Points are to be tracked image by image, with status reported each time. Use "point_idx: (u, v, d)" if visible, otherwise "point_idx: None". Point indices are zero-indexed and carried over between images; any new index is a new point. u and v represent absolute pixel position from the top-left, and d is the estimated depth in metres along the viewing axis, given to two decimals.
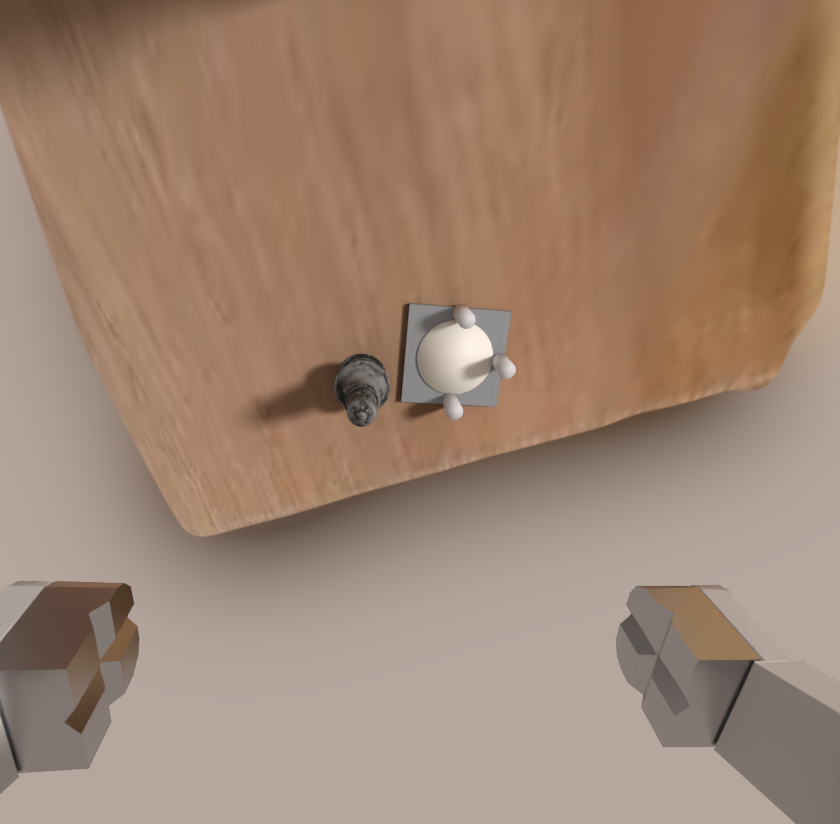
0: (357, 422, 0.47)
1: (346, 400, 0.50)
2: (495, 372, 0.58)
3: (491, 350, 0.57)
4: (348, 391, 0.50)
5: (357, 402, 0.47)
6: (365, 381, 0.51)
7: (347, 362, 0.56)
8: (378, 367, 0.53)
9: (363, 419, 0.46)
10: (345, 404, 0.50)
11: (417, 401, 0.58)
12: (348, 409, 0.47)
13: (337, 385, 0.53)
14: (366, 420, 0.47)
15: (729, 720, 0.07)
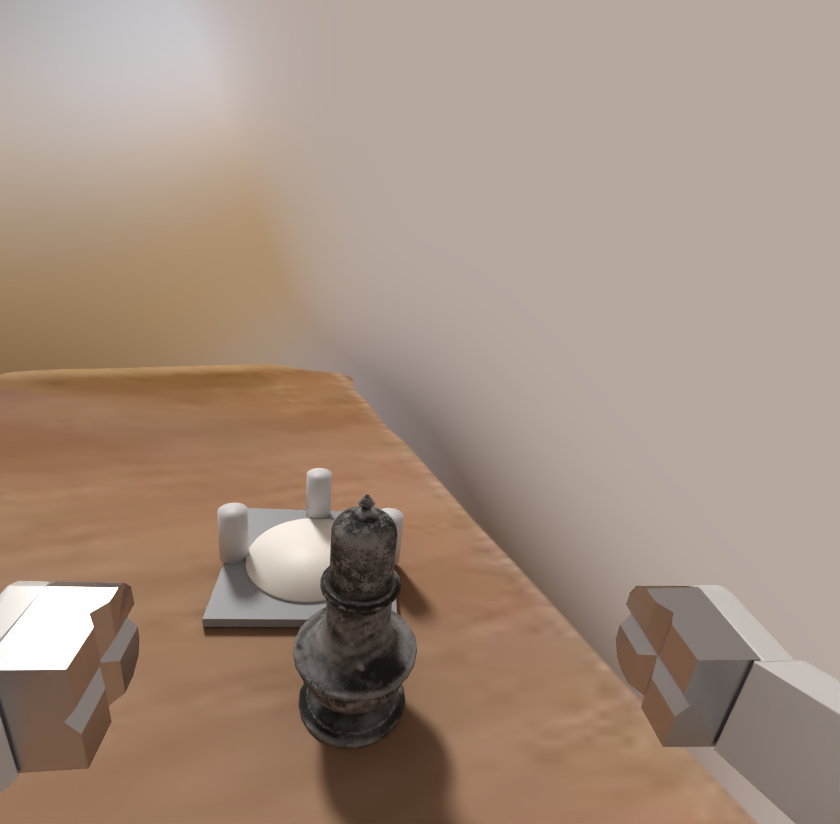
0: (383, 522, 0.22)
1: (359, 603, 0.22)
2: (336, 516, 0.39)
3: (301, 520, 0.38)
4: (337, 602, 0.22)
5: (338, 529, 0.21)
6: (327, 605, 0.24)
7: (316, 725, 0.24)
8: (309, 618, 0.26)
9: None
10: (369, 606, 0.22)
11: None
12: (357, 544, 0.21)
13: (351, 690, 0.22)
14: (376, 509, 0.22)
15: (729, 720, 0.07)
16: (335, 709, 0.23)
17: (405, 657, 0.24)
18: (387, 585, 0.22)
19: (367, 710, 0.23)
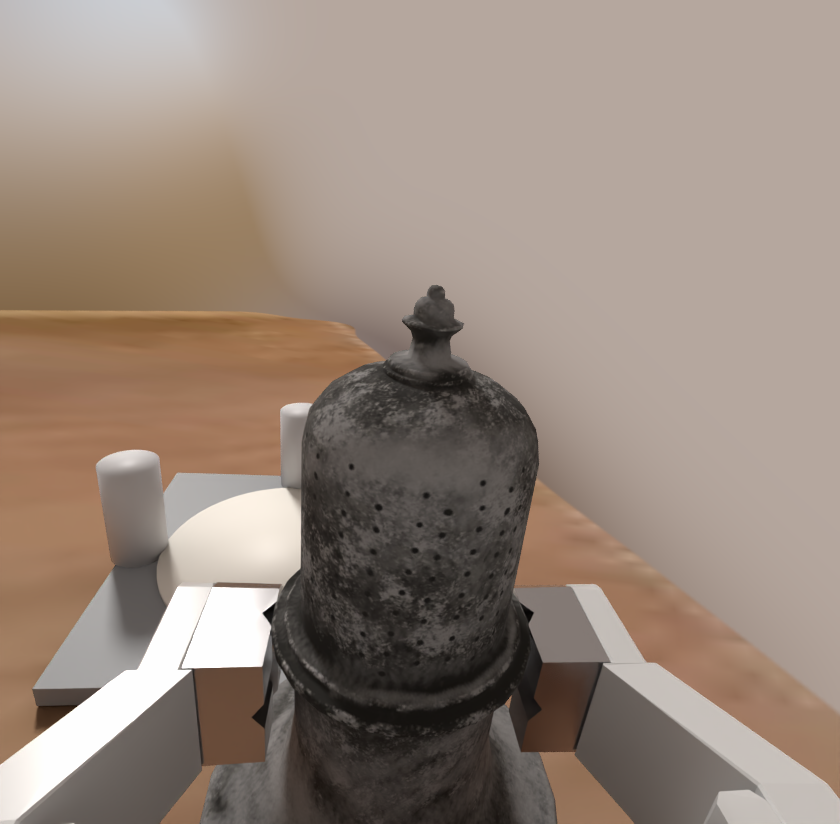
0: (496, 396, 0.06)
1: (408, 699, 0.06)
2: None
3: (271, 491, 0.22)
4: (328, 695, 0.06)
5: (326, 418, 0.06)
6: None
7: None
8: None
9: None
10: (447, 709, 0.06)
11: None
12: (405, 467, 0.05)
13: None
14: None
15: (585, 724, 0.07)
16: None
17: None
18: (500, 627, 0.07)
19: None
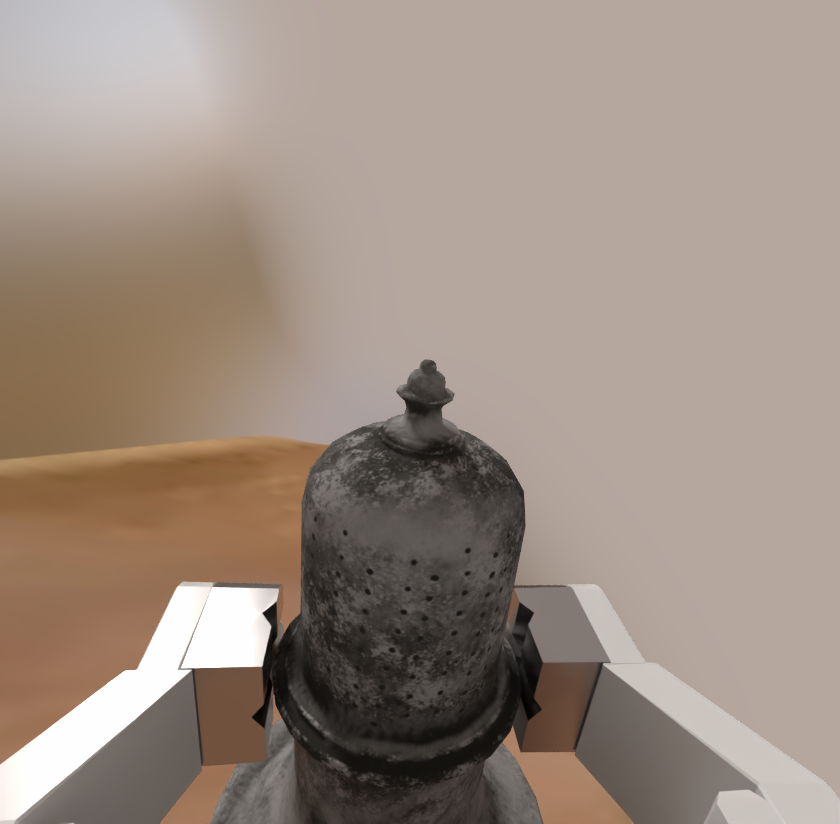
0: (484, 462, 0.06)
1: (398, 750, 0.06)
2: None
3: None
4: (323, 743, 0.06)
5: (324, 483, 0.06)
6: None
7: None
8: None
9: None
10: (435, 760, 0.06)
11: None
12: (394, 535, 0.05)
13: None
14: None
15: (585, 724, 0.07)
16: None
17: None
18: (489, 679, 0.07)
19: None
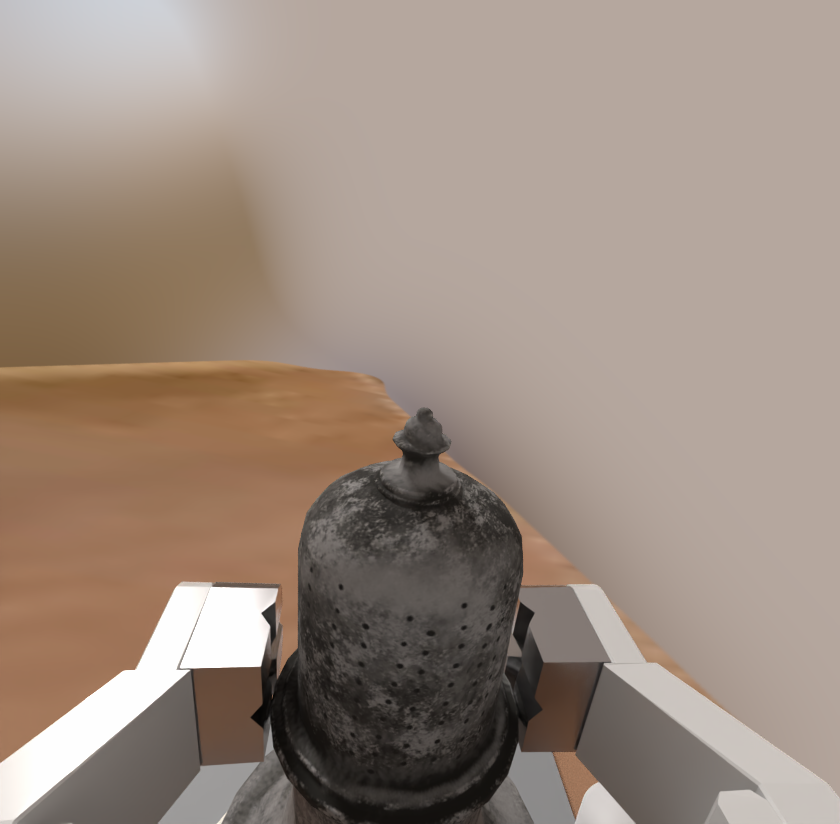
0: (481, 510, 0.06)
1: (395, 798, 0.06)
2: None
3: None
4: (320, 790, 0.06)
5: (320, 532, 0.06)
6: None
7: None
8: (263, 763, 0.10)
9: None
10: (432, 808, 0.06)
11: None
12: (390, 591, 0.05)
13: None
14: None
15: (586, 724, 0.07)
16: None
17: None
18: (487, 723, 0.07)
19: None
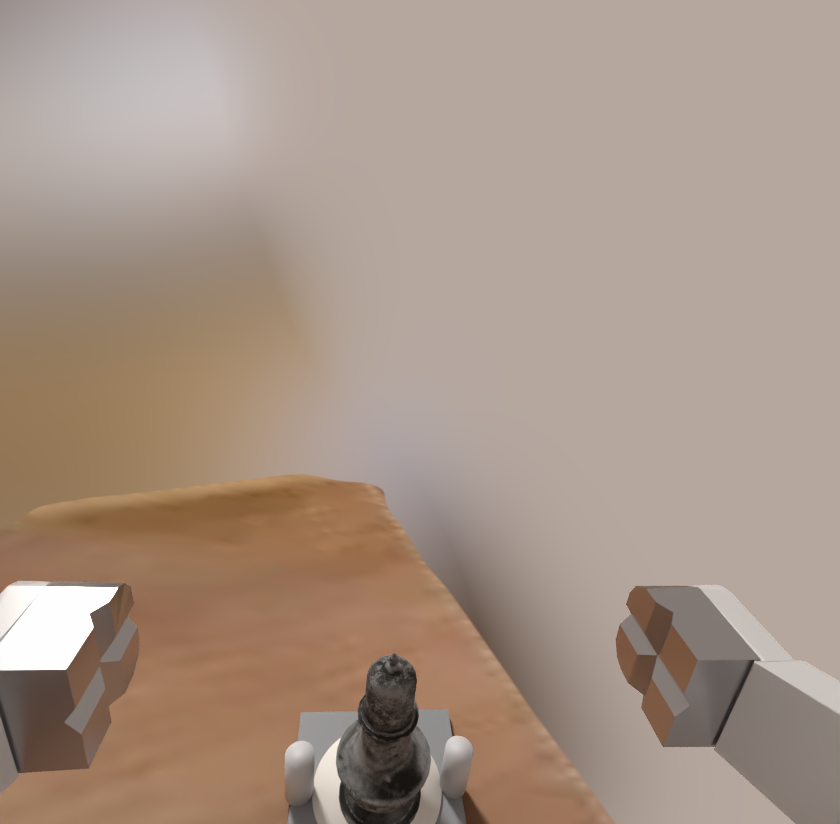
0: (406, 674, 0.29)
1: (387, 734, 0.29)
2: None
3: None
4: (371, 732, 0.29)
5: (372, 679, 0.29)
6: None
7: (353, 818, 0.32)
8: (347, 730, 0.33)
9: None
10: (395, 736, 0.29)
11: None
12: (386, 694, 0.28)
13: (381, 798, 0.30)
14: (401, 661, 0.30)
15: (729, 720, 0.07)
16: (368, 810, 0.30)
17: (422, 768, 0.31)
18: (408, 718, 0.30)
19: (392, 811, 0.30)
